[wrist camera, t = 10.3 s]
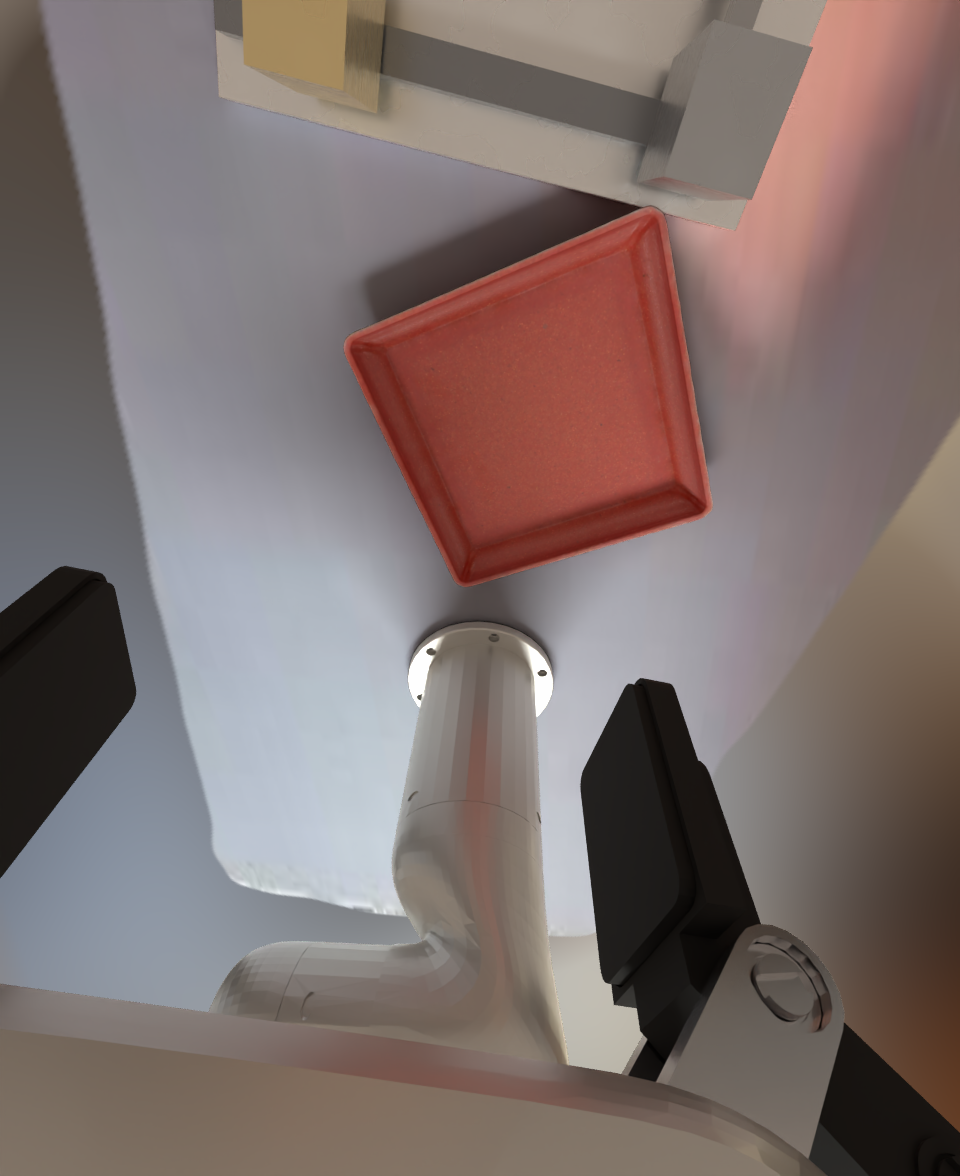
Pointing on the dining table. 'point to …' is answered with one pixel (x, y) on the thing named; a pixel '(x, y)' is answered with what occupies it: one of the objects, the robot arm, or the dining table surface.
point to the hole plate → (575, 92)
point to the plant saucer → (544, 403)
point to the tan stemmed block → (318, 47)
